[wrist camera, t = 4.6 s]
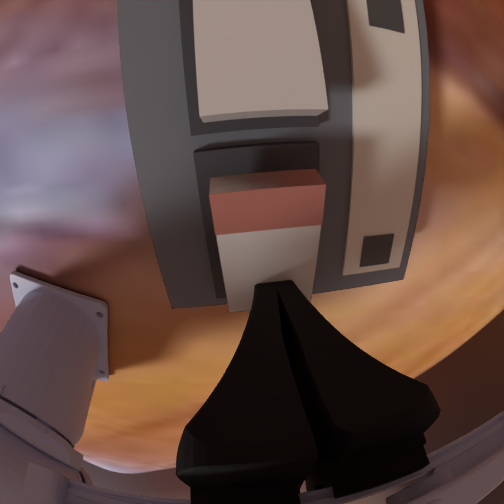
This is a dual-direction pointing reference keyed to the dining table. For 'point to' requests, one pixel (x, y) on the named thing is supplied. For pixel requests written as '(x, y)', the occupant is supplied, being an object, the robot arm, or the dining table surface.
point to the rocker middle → (257, 59)
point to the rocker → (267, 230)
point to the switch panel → (284, 142)
